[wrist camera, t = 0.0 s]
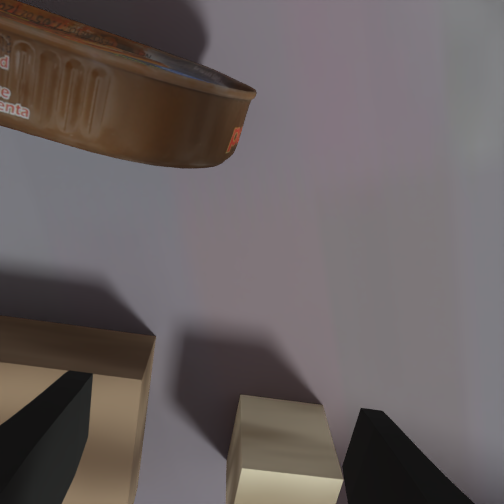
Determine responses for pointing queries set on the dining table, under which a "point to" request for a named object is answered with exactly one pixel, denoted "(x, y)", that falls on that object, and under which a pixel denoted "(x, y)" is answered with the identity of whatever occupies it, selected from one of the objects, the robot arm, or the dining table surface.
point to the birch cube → (281, 454)
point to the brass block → (102, 398)
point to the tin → (114, 93)
